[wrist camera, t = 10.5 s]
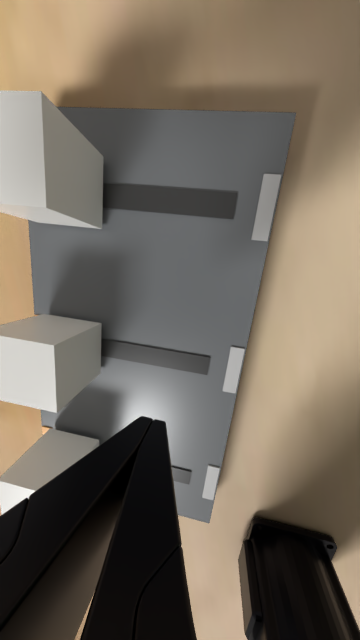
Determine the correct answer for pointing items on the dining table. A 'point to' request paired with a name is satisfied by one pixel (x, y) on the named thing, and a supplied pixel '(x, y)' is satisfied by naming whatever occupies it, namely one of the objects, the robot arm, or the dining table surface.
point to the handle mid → (48, 360)
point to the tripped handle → (47, 164)
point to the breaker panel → (167, 276)
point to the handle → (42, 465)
